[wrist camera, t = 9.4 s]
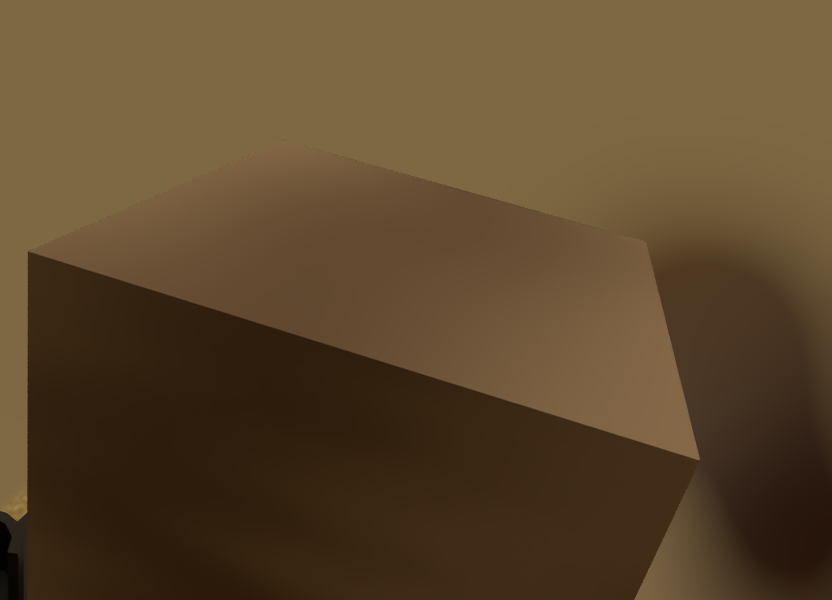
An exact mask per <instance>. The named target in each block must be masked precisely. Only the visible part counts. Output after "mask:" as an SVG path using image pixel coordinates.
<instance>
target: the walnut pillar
mask: <svg viewBox="0 0 832 600" xmlns="http://www.w3.org/2000/svg"><path fill="white" fill-rule="evenodd" d="M699 462H700V459H699V454H698V451H697V446H696V442H695V438H694V434H693V430H692V426H691V422H690V418H689V414H688V410H687V406H686V402H685V398H684V394H683V390H682V386H681V382H680V378H679V374H678V370H677V365H676V361H675V358H674V353H673V349H672V345H671V341H670V338H669V333H668V329H667V325H666V321H665V317H664V313H663V309H662V305H661V301H660V297H659V293H658V289H657V285H656V281H655V277H654V273H653V268H652V264H651V261H650V257H649V252H648V249H647V244H646V242H645V241H642V240H638V239H635V238H631V237H628V236H624V235H620V234H617V233H613V232H610V231H606V230H603V229H599V228H596V227H592V226H589V225H585V224H581V223H578V222H574V221H570V220H567V219H564V218H560V217H556V216H553V215H549V214H545V213H542V212H539V211H535V210H531V209H528V208H524V207H521V206H517V205H513V204H510V203H506V202H503V201H499V200H496V199H492V198H489V197H485V196H482V195H478V194H474V193H471V192H467V191H463V190H460V189H457V188H453V187H449V186H446V185H442V184H438V183H435V182H432V181H427V180H424V179H421V178H417V177H414V176H410V175H406V174H403V173H399V172H395V171H392V170H389V169H385V168H382V167H378V166H374V165H371V164H367V163H364V162H360V161H357V160H353V159H350V158H346V157H342V156H339V155H335V154H331V153H328V152H325V151H321V150H317V149H314V148H310V147H307V146H303V145H300V144H296V143H292V142H289V141H285V140H283V141H280V142H278V143H276V144H273V145H271V146H269V147H267V148H264V149H262V150H260V151H257V152H255V153H253V154H251V155H248V156H246V157H244V158H241V159H239V160H237V161H234V162H232V163H230V164H227V165H225V166H223V167H221V168H218V169H216V170H214V171H211V172H209V173H207V174H205V175H202V176H200V177H198V178H195V179H193V180H191V181H188V182H186V183H184V184H182V185H179V186H177V187H175V188H172V189H170V190H168V191H166V192H163V193H161V194H159V195H156V196H154V197H152V198H149V199H147V200H145V201H142V202H140V203H138V204H136V205H133V206H131V207H129V208H127V209H124V210H122V211H120V212H117V213H115V214H113V215H111V216H108V217H106V218H103V219H101V220H99V221H97V222H94V223H92V224H90V225H87V226H85V227H83V228H80V229H78V230H76V231H74V232H71V233H69V234H67V235H65V236H62V237H60V238H58V239H55V240H53V241H51V242H48V243H46V244H44V245H41V246H39V247H37V248H35V249H32V250H30V251H28V479H27V600H634V599H635V597H636V595H637V592H638V590H639V588H640V586H641V584H642V582H643V580H644V578H645V576H646V573H647V571H648V569H649V567H650V565H651V563H652V561H653V559H654V556H655V555H656V552H657V550H658V548H659V546H660V544H661V542H662V540H663V537H664V535H665V533H666V531H667V529H668V527H669V525H670V523H671V521H672V519H673V517H674V514H675V512H676V510H677V508H678V506H679V504H680V502H681V500H682V498H683V495H684V493H685V491H686V489H687V487H688V485H689V483H690V481H691V478H692V476H693V474H694V472H695V470H696V468H697V466H698V464H699Z"/></svg>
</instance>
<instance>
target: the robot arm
mask: <svg viewBox="0 0 832 600" xmlns="http://www.w3.org/2000/svg"><path fill="white" fill-rule="evenodd" d="M0 600H27V513H26V514H25V515H24V516H23V517H22V518H21V519H20V520H19V521H18V522H17V521H16V520H14V519H13V518H12V517H11V516H10V515H8V514H7V513H5V512H1V511H0Z"/></svg>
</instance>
